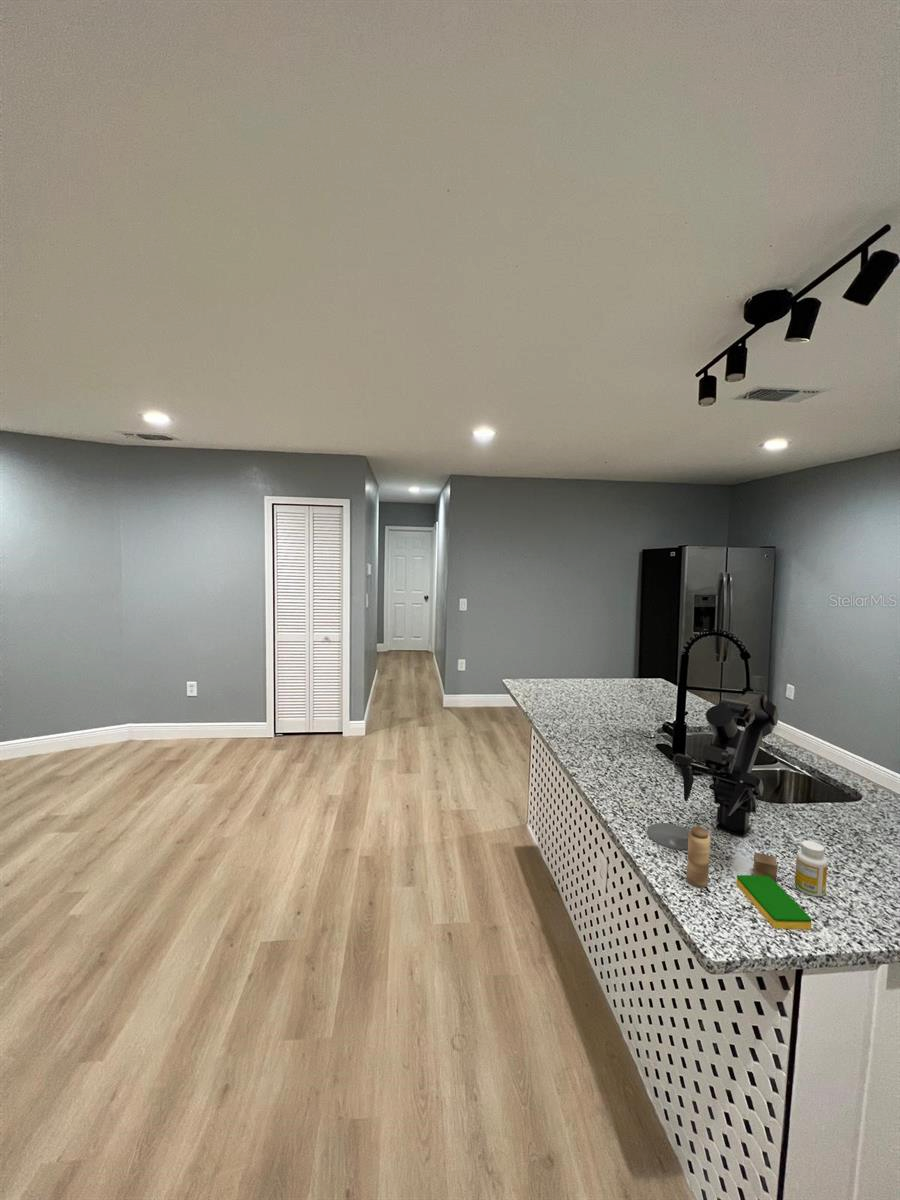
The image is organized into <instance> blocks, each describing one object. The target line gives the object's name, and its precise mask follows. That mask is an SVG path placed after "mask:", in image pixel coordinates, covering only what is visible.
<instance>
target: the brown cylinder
mask: <svg viewBox="0 0 900 1200" xmlns="http://www.w3.org/2000/svg"><path fill="white" fill-rule="evenodd" d="M710 849H711V835H710V834H709V831H708V830H707V829H706V828H704V827H702V826H693V827H691V830H690V831H689V840H688V850H687V863H686V864H687V865H686V882H687V883H688V884H690V885H692V886H693V887H695V888H707V887H708V885H709V872H710V869H709V868H710V856H711V855H710V851H711V850H710Z"/></svg>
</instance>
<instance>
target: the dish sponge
mask: <svg viewBox="0 0 900 1200" xmlns="http://www.w3.org/2000/svg"><path fill="white" fill-rule="evenodd" d="M736 886H737V887H738V888H739V889H740V890H741V892H743V894H744V895H745V896H746V897H747V899H748V900H749V901H750V902H751V903H752V905H754V907H755V908H756V909H757V910H758V911H759V913H760V914H762V916H763V917H764V918H765V919H766V920H768V921H769V922H768V921H767V922H768V923H769V924H770V925H771V924H772V925H771V927H772V928H774V927H775V928H774V929H776V928H783V929H782V930H812V920H813V919H812V917H810V916H809V914H808V913H806V911H805V910H803V908H802V907H801V906H799V905H798V903H797V902H796V901H795V900H794V899H792V897H791V896H790V895H789V894H788V893H787V892H786V891H785V890H784V889H783V888H782V887H781V886H780V885H779V884H778V883H777V881H776V882H775V881H774V880H773V879H772V878H771V877H770V876H756V875H753V874H752V875H751V874H750V875H749V874H748V875H745V874H743V875H742V874H737V875H736Z"/></svg>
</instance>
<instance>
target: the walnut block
mask: <svg viewBox="0 0 900 1200" xmlns="http://www.w3.org/2000/svg"><path fill="white" fill-rule="evenodd" d="M777 863H778V862H777V857H776V856H774V855H769V854H764V853H761V852H757V851H756V852H754V857H753V873H754V875H756V876H770V877H771V878H772V879H773V880H774V881H775V882H776V883H777V877H778V864H777Z"/></svg>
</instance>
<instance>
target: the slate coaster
mask: <svg viewBox="0 0 900 1200" xmlns="http://www.w3.org/2000/svg"><path fill="white" fill-rule="evenodd" d="M689 831H691V830H690V829H688V828H686V827H683V826H681V825H677V824H674V823H666V822H659V823H656V822H655V823H653V824H650V825H649V826H648V827H647V829H646V834H647V836H648V838H649V839H650V840H652V841H653V842H654V843H656V844H657V845H660V846H663V847H664V848H668V849H673V850H678V851H679V850H681V851H686V850H687V851H688V840H689Z"/></svg>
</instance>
